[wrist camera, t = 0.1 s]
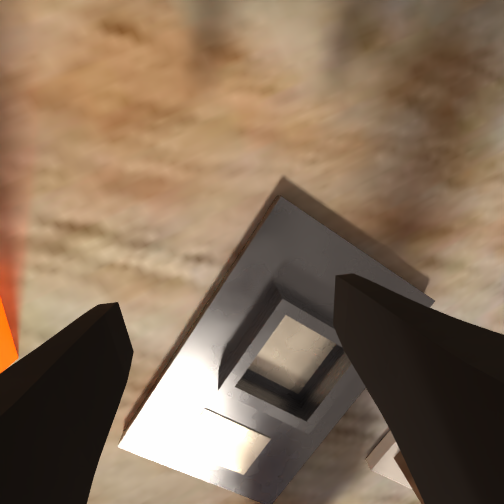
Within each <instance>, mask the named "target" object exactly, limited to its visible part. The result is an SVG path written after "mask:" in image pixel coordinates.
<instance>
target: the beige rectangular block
mask: <svg viewBox="0 0 504 504" xmlns="http://www.w3.org/2000/svg"><path fill="white" fill-rule="evenodd" d="M399 451H400V449H399V447H398V445H397V443H396V441H395V439H394V437H393V435H392V433H391V430H390V431H389V432H388V433H387V435H386V436H385V437H384V438H383V439H382V440H381V442H380V443H379V444H378V445H377V446H376V448H375V449H374V450H373V451H372V452H371V453H370V455H369V456H368V457H367V458H366V459H365V460H366V462H367V464H368V466H369V468H370V470H371V471H373V472H375V473H378V474H380V475H382V476H384V477H386V478H388V479H391V480H393V481H395V482H397V483H399V484H401V485H403V486H406V487H408V488H410V489H412V487H411V486H410V484H409V482H408V481H407V479H406V478H405V476H404V474H403V473H402V471H401V469H400V468H399V466H398V465H397V463H396V461H395V460H394V457H395V456H396V455H397V453H398V452H399ZM412 490H413V489H412Z"/></svg>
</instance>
